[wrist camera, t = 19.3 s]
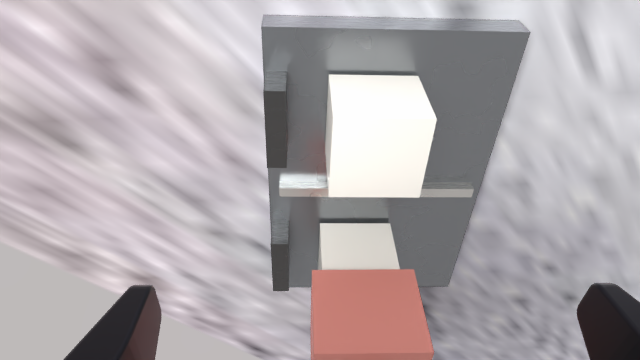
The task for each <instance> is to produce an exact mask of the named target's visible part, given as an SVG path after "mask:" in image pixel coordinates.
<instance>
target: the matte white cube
mask: <svg viewBox="0 0 640 360" xmlns="http://www.w3.org/2000/svg"><path fill="white" fill-rule="evenodd" d="M381 269H400V267H399V263H398V258H397V253H396V248H395V244H394V239H393V234H392V230H391V225H390V223H320V235H319V257H318V270H381Z"/></svg>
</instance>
